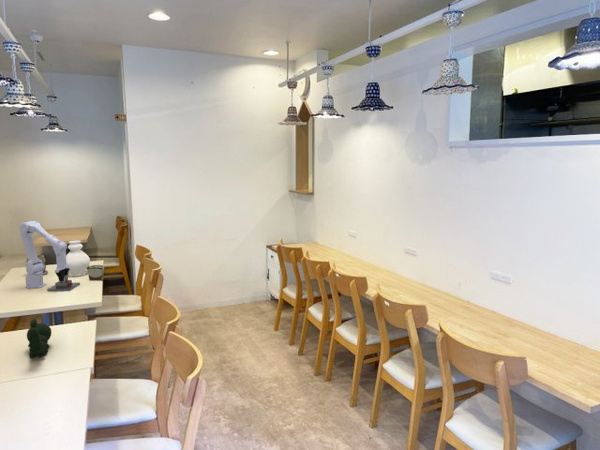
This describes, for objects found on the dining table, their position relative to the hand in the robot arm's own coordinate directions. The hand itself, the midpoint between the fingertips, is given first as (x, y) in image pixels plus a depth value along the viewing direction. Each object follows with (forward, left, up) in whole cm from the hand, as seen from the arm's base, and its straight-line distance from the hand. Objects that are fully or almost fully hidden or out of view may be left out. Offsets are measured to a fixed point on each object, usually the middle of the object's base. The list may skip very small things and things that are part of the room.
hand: (63, 280), depth 272 cm
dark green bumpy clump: (+36, -94, -6) cm, 101 cm away
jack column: (0, 0, -4) cm, 4 cm away
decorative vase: (-7, +34, -5) cm, 35 cm away
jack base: (0, 0, -5) cm, 5 cm away
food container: (+14, +19, -5) cm, 24 cm away
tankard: (-35, +31, -6) cm, 47 cm away
